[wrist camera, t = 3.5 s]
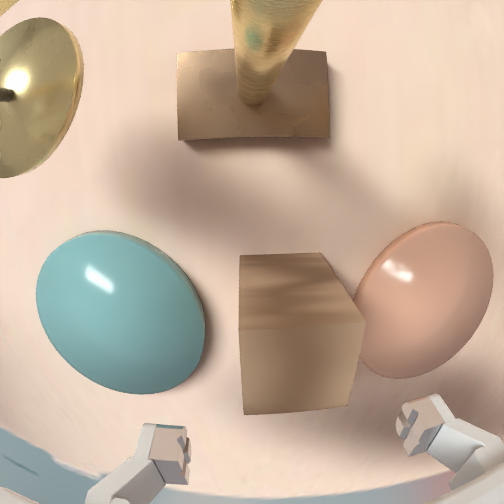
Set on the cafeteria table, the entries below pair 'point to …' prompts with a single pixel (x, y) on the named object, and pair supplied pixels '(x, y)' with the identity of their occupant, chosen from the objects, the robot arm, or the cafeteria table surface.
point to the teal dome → (121, 312)
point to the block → (295, 334)
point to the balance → (188, 83)
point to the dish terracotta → (423, 299)
